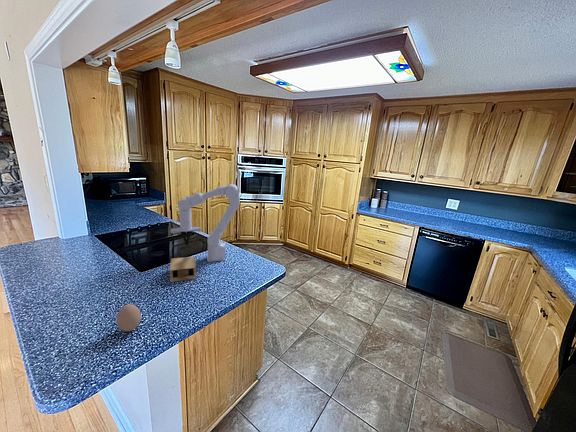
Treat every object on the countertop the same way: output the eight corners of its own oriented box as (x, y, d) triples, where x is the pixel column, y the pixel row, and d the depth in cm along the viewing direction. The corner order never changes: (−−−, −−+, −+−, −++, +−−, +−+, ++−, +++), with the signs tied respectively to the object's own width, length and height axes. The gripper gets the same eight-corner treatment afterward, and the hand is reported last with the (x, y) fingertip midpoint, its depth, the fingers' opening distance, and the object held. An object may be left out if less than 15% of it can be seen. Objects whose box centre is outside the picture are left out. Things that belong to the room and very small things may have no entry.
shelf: (195, 267, 121) (194, 256, 120) (196, 278, 111) (195, 267, 109) (171, 269, 117) (171, 258, 115) (170, 281, 106) (169, 269, 105)
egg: (116, 328, 77) (113, 304, 75) (139, 319, 82) (136, 296, 80) (120, 340, 73) (117, 315, 71) (144, 330, 77) (142, 306, 75)
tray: (188, 265, 122) (188, 257, 121) (189, 277, 111) (188, 269, 109) (178, 266, 120) (177, 258, 119) (177, 279, 109) (177, 270, 108)
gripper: (199, 218, 131) (200, 240, 134) (171, 219, 125) (172, 242, 128) (200, 221, 125) (201, 245, 128) (170, 222, 119) (171, 247, 122)
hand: (186, 244), depth 128 cm, fingers closed
